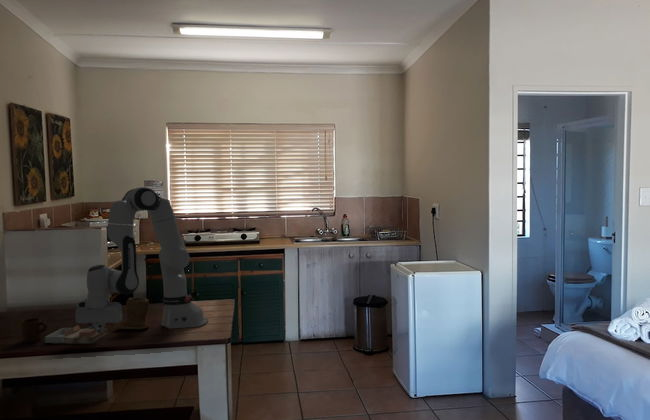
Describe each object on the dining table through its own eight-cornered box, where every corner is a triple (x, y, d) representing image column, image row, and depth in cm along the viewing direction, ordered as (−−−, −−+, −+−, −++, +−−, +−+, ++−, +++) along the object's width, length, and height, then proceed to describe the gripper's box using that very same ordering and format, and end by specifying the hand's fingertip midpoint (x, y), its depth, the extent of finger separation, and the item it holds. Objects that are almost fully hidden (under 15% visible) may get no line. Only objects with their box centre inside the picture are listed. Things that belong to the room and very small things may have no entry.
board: (107, 333, 239) (107, 328, 239) (92, 343, 225) (91, 337, 225) (80, 334, 240) (80, 328, 240) (63, 343, 226) (63, 337, 226)
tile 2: (95, 333, 232) (95, 329, 231) (90, 336, 227) (90, 332, 226) (85, 333, 232) (85, 329, 232) (79, 336, 227) (79, 332, 227)
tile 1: (80, 328, 238) (78, 324, 238) (74, 331, 233) (72, 327, 233) (71, 333, 239) (69, 330, 238) (65, 337, 234) (63, 333, 233)
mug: (54, 339, 233) (52, 318, 232) (41, 344, 226) (39, 323, 225) (32, 337, 236) (31, 317, 235) (18, 342, 228) (17, 322, 228)
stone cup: (154, 325, 252) (153, 295, 251) (142, 332, 240) (141, 300, 240) (126, 324, 255) (125, 294, 254) (113, 331, 243) (111, 300, 242)
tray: (79, 334, 240) (79, 327, 240) (62, 343, 226) (62, 336, 226) (62, 334, 240) (62, 327, 240) (45, 343, 226) (44, 336, 226)
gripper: (124, 300, 231) (125, 330, 231) (80, 300, 232) (81, 330, 232) (118, 303, 224) (119, 334, 225) (72, 303, 225) (74, 334, 226)
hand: (99, 332), depth 229 cm, fingers closed
